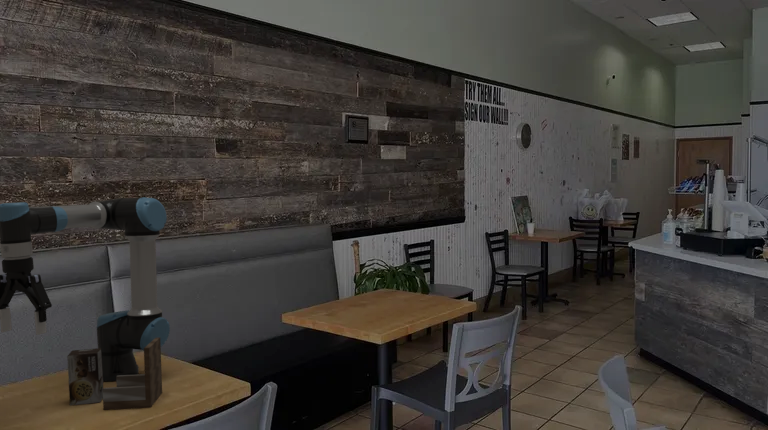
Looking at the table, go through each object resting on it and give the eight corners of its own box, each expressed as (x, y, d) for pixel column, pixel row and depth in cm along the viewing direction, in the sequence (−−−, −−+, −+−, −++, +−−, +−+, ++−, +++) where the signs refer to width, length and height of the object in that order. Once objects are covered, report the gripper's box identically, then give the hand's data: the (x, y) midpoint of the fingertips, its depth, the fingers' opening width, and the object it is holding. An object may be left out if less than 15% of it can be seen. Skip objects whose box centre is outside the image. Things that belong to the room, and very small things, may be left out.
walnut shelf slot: (118, 395, 200) (116, 339, 199) (162, 392, 202) (160, 337, 201) (103, 410, 186) (101, 350, 185) (150, 407, 188) (148, 348, 187)
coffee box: (104, 396, 199) (102, 347, 198) (100, 402, 193) (98, 352, 192) (73, 399, 197) (72, 349, 196) (68, 405, 191) (66, 354, 190)
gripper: (-27, 259, 171) (-20, 333, 172) (38, 260, 162) (44, 338, 163) (-2, 255, 178) (4, 326, 179) (61, 256, 169) (68, 331, 170)
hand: (23, 332), depth 171 cm, fingers open, 13 cm apart
